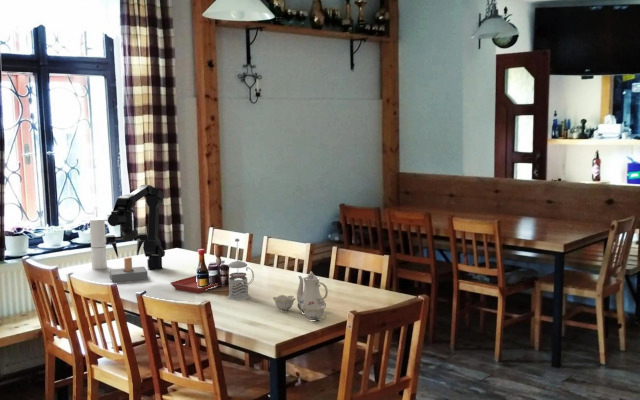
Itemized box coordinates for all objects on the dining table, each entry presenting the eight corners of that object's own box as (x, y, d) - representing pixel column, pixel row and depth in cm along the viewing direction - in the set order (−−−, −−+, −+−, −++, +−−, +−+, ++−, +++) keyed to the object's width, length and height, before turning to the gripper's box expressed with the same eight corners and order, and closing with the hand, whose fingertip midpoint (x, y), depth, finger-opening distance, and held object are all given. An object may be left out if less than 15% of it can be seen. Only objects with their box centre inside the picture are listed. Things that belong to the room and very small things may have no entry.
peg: (132, 277, 320) (131, 257, 319) (132, 279, 317) (132, 258, 316) (124, 278, 319) (123, 257, 318) (125, 280, 316) (124, 259, 315)
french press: (224, 295, 286) (222, 237, 283) (250, 292, 290) (249, 235, 287) (229, 301, 277) (228, 241, 274) (257, 298, 281) (255, 239, 278)
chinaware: (266, 315, 262) (262, 274, 259) (296, 302, 274) (292, 263, 271) (318, 330, 243) (314, 286, 240) (348, 315, 255) (345, 273, 251)
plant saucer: (227, 286, 303) (227, 279, 302) (199, 295, 288) (199, 287, 287) (197, 281, 313) (197, 274, 312) (169, 290, 298) (169, 282, 297)
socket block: (144, 274, 326) (144, 266, 326) (147, 279, 315) (147, 271, 315) (110, 277, 320) (109, 269, 320) (112, 283, 309) (111, 274, 309)
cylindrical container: (109, 266, 347) (106, 218, 344) (103, 269, 339) (101, 220, 337) (95, 265, 347) (93, 218, 344) (89, 268, 340) (87, 220, 337)
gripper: (106, 226, 304) (108, 260, 306) (148, 224, 311) (150, 257, 312) (104, 223, 314) (106, 256, 316) (145, 221, 321) (146, 253, 323)
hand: (127, 256), depth 316 cm, fingers open, 9 cm apart
